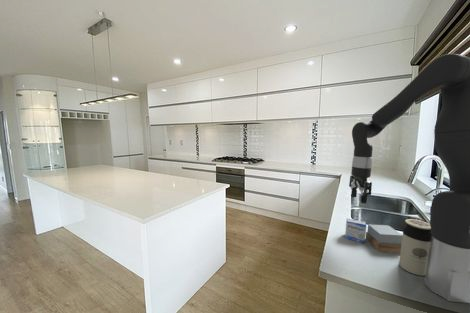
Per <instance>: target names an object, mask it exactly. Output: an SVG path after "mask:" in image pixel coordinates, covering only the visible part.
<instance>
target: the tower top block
mask: <svg viewBox="0 0 470 313" xmlns="http://www.w3.org/2000/svg"><path fill="white" fill-rule="evenodd" d="M366 232H368V233H369V234H370V235H371V236H372V237H373V238H374V239H376V240H377V241H378V242H379V243H389V244H402V236H403V233H402V234H401V233H400V232H398V231H397V230H396V229H395V228H393V227H391V226H390V225H387V224H369V223H368V224H367V230H366Z"/></svg>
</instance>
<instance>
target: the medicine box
mask: <svg viewBox="0 0 470 313" xmlns="http://www.w3.org/2000/svg"><path fill="white" fill-rule="evenodd" d="M345 223H346V224H345V231H344V232H345V234H344V235H345V238H346V239H347V240H352V241H357V242H361V243H365V242H366V232H367V224H366V221H363V220H359V219H357V220H356V219H351V218H346V221H345Z"/></svg>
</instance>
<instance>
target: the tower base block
mask: <svg viewBox="0 0 470 313" xmlns="http://www.w3.org/2000/svg"><path fill="white" fill-rule="evenodd" d="M365 241H367V242H368V243H369V244H371V246H372V247H374V249H375V250H377V251H378V252H381V253H394V254H395V253H396V254H400V252H401V244H389V243H379V242H378V241H377V240H376V239H374V238H373V237H372V236H371V235H370V234H369V233H368V232H367V231H366V234H365Z"/></svg>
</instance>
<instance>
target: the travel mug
mask: <svg viewBox="0 0 470 313" xmlns="http://www.w3.org/2000/svg"><path fill="white" fill-rule="evenodd" d="M404 222H405V226H404V227H403V229H402V235H403V236H402V244H401V252H400V253H399V260H398V264H399V266H400V267H401V268H402V269H403V270H405V271H407V272H409V273H411V274H413V275H416V276H417V275H418V276H426V270H427V263H428V256H429V250H430V243H431V237H432V229H431V227H430V222H429V223H428V222H425V221H423V220H419V219H414V218H409V219H405V220H404Z"/></svg>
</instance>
